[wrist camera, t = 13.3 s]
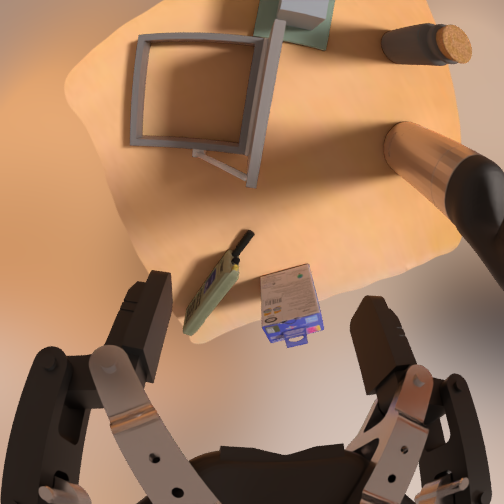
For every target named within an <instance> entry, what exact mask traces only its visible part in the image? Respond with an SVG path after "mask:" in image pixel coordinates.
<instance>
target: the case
mask: <svg viewBox="0 0 504 504" xmlns="http://www.w3.org/2000/svg"><path fill="white" fill-rule="evenodd" d="M285 26H286V21H284V20H278V19H275V21H274V23H273V26H272V29H271V32H270V35H269V38H258V37H251V36H242V35H232V34H218V33H156V34H143V35H139V37H138V43H137V50H136V58H135V66H134V76H133V87H132V101H131V121H130V145H133V146H158V147H174V148H187V149H193V153H192V157H198V158H200V159H202V160H204V161H206V162H208V163H210V164H212V165H214V166H216V167H218V168H220V169H222V170H224V171H226V172H228V173H230V174H232V175H234V176H236V177H238V178H240V179H241V180H243V181H246V187H249V188H256V186H257V180H258V175H259V169H260V163H261V158H262V152H263V146H264V141H265V135H266V129H267V124H268V118H269V113H270V107H271V102H272V96H273V91H274V85H275V80H276V74H277V69H278V64H279V58H280V53H281V47H282V42H283V37H284V31H285ZM173 41H195V42H218V43H231V44H241V45H249V46H255V48H254V54H253V59H252V65H251V71H250V77H249V83H248V89H247V95H246V101H245V107H244V114H243V120H242V127H241V133H240V140H239V143H234V142H225V141H216V140H207V139H196V138H183V137H167V136H142V130H143V110H144V96H145V84H146V74H147V65H148V57H149V50H150V43H151V42H173ZM206 150H209V151H218V152H227V153H235V154H242V155H245V156H248V165H247V174H245V173H243V172H241V171H239V170H237V169H235V168H233V167H231V166H229V165H227V164H224V163H222V162H220V161H218V160H216V159H214V158H212V157H210V156H208V155H205V154H206Z"/></svg>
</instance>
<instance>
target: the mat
mask: <svg viewBox="0 0 504 504" xmlns="http://www.w3.org/2000/svg"><path fill="white" fill-rule="evenodd" d="M334 3H335V0H329V3H328V9H327V15H326V19H325V20H324V21H323V22H322V23H320V24H319V25H318V26H317V27H315V28H314V29H313V30H312V31H310V30H306V29H302V28H297V27H292V26H287V25H286V26H285V31H284V37H283V41H284V42H289V43H294V44H299V45H303V46H308V47H312V48H316V49H320V50H323V51H325V50H326V47H327V42H328V37H329V31H330V26H331V20H332V14H333V9H334ZM278 4H279V0H260V3H259V8H258V13H257V18H256V23H255V29H254V34H253V37H260V38H269V35H270V32H271V29H272V26H273V23H274V21H275V19H276V15H277V10H278Z"/></svg>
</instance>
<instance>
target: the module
mask: <svg viewBox="0 0 504 504" xmlns="http://www.w3.org/2000/svg"><path fill="white" fill-rule="evenodd" d="M328 3H329V0H279V4H278V10H277V15H276V19H278V20H284V21H286V25H287V26H292V27H297V28H302V29H306V30H310V31H312V30H313V29H314V28H315V27H317V26H318V25H319V24H320V23H322V22H323V21H324V20H325V19H326V15H327V9H328Z"/></svg>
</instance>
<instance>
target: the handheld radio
mask: <svg viewBox="0 0 504 504" xmlns="http://www.w3.org/2000/svg"><path fill="white" fill-rule="evenodd" d="M254 235H255V234H254V232H252V231H251V230H248V231H247V233H246V234H245V235H244V237H243V238H242V240H241V241H240V242H239V244H238V245H237V246H236V249H235V250H234V251H232V250H228V251H227V252H226V253H225V255H224V256H223V257H222V259H221V260H220V262H219V263H218V264H217V265H216V267H215V268H214V270H213V271H212V273H211V274H210V275H209V277H208V278H207V280H206V281H205V282H204V284H203V286H202V287H201V289H200V290H199V292H198V293H197V294H196V296H195V297H194V299H193V300H192V302H191V303H190V305H189V306H188V308H187V309H186V315H185V320H184V326H183V333H184V334H187V335H190V336H192V335H193V334H194V333H196V332H197V330H198V329H199V328H200V327H201V326H202V324H203V323H204V322H205V320H206V318H207V317H208V316H209V315H210V313H211V312H212V311H213V310H214V308H215V307H216V306H217V305H218V304H219V302H220V301H221V300H222V299H223V297H224V296H225V295H226V294H227V292H228V291H229V290H230V289H231V287H232V286H233V285H234V284H235V282H236V281H237V280H238V278H239V262H240V259H239V255H240V253H241V251H243V249H244V248H245V247H246V245H247V244H248V243H249V241H250V240H251V239H252V237H253V236H254Z"/></svg>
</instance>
